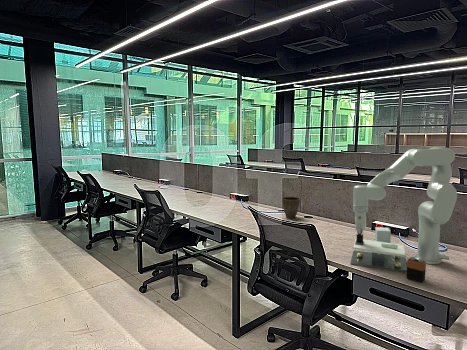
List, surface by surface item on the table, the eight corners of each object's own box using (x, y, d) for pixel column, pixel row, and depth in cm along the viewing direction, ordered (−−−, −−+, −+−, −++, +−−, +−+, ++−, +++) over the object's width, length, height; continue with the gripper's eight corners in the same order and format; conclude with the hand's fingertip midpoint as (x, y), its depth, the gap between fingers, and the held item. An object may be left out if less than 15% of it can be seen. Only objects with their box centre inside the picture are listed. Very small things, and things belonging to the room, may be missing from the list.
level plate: (403, 249, 171) (403, 241, 171) (404, 259, 157) (405, 251, 156) (355, 242, 181) (355, 234, 181) (353, 251, 167) (353, 243, 166)
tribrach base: (404, 258, 173) (404, 248, 173) (407, 272, 155) (407, 261, 155) (353, 251, 184) (353, 242, 184) (350, 264, 166) (350, 254, 166)
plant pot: (289, 214, 277) (289, 196, 275) (303, 217, 265) (303, 198, 264) (278, 217, 267) (278, 198, 266) (291, 220, 256) (292, 200, 254)
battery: (409, 275, 152) (410, 255, 151) (425, 280, 147) (426, 259, 146) (405, 278, 149) (406, 258, 148) (422, 283, 144) (423, 261, 143)
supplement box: (387, 248, 190) (388, 227, 188) (390, 252, 182) (391, 231, 181) (374, 247, 192) (375, 226, 190) (376, 251, 185) (377, 230, 183)
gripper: (367, 212, 162) (366, 247, 164) (368, 206, 176) (367, 238, 178) (351, 211, 166) (351, 245, 168) (354, 205, 179) (353, 237, 181)
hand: (359, 241), depth 173 cm, fingers closed
